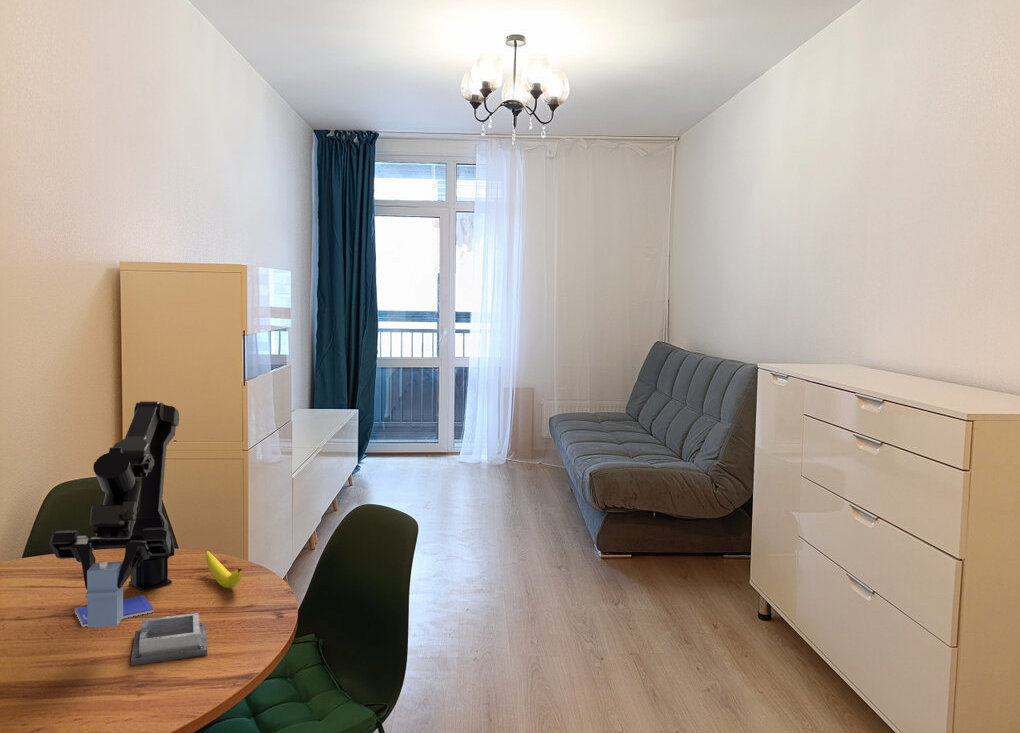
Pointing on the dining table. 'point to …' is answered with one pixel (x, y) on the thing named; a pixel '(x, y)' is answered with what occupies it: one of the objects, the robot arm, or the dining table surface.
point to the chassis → (169, 639)
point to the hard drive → (130, 609)
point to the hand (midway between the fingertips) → (103, 588)
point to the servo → (104, 595)
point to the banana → (222, 572)
